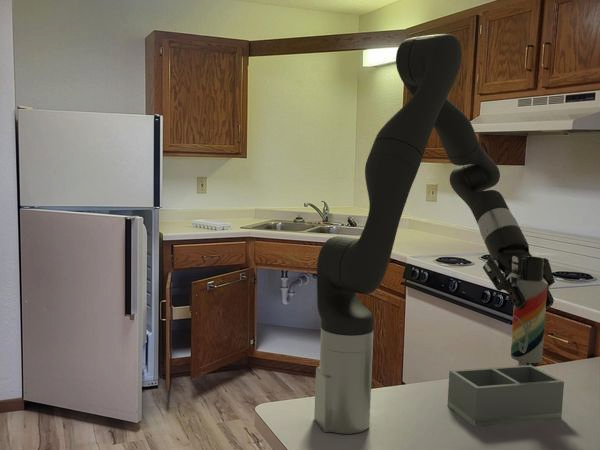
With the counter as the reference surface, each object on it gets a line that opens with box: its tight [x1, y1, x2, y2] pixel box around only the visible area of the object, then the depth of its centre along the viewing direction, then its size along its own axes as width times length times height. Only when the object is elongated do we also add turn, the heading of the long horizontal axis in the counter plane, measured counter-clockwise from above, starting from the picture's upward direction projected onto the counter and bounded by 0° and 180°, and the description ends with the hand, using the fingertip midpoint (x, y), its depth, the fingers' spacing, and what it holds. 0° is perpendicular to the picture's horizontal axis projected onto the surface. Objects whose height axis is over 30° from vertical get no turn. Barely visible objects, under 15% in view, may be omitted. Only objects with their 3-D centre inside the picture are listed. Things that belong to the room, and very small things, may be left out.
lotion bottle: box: [510, 255, 547, 364], centre depth 112 cm, size 6×6×20 cm
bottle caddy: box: [447, 364, 565, 427], centre depth 112 cm, size 18×10×7 cm, turn 105°
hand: (535, 306), depth 110 cm, fingers closed on lotion bottle, 5 cm apart
